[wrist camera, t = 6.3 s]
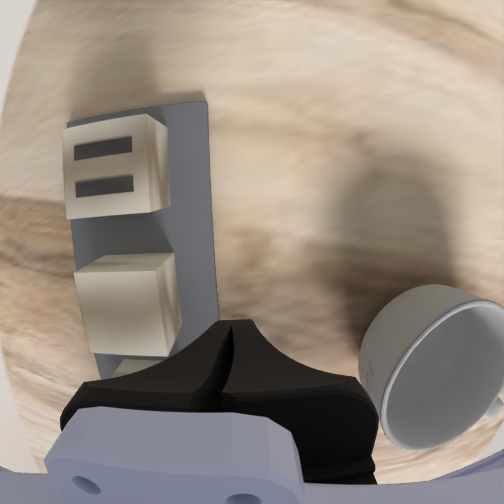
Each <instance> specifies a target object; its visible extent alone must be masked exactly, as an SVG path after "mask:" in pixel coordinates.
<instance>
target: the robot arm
mask: <svg viewBox="0 0 504 504" xmlns="http://www.w3.org/2000/svg"><path fill="white" fill-rule="evenodd" d="M378 424H379V416H378V413H377V410H376V408H375V406H374V404H373V402H372V400H371V398H370V396H369V395H368V393H367V392H366V391H365V389H364V388H363V387H362V385H361V384H360V383H359V382H358V380H357V379H356V377H352V376H345V375H338V374H332V373H327V372H324V371H320V370H317V369H314V368H311V367H308V366H306V365H303V364H301V363H299V362H297V361H295V360H293V359H291V358H289V357H288V356H286V355H284V354H283V353H281V352H280V351H278V350H277V349H276V348H275V347H274V346H273V345H272V344H271V343H270V342H268V340H267V339H266V338H265V337H264V336H263V335H262V334H261V333H260V331H259V330H258V329H257V327H256V325H255V324H254V322H253V321H252V320H251V319H245V320H222V321H216V322H215V323H214V324H212V325H211V326H210V327H209V328H208V329H207V330H206V331H205V332H204V333H203V334H202V335H200V336H199V337H198V338H197V339H196V340H194V341H193V342H192V343H190V344H189V345H188V346H186V347H185V348H184V349H183V350H181V351H180V352H178V353H176V354H175V355H173V356H171V357H170V358H168V359H166V360H164V361H162V362H160V363H158V364H155V365H153V366H150V367H148V368H146V369H143V370H140V371H137V372H134V373H131V374H127V375H123V376H119V377H115V378H110V379H103V380H96V381H89V382H84V383H83V384H82V385H81V387H80V388H79V389H78V391H77V392H76V393H75V395H74V396H73V397H72V399H71V400H70V402H69V403H68V404H67V406H66V407H65V408H64V410H63V412H62V415H61V417H60V428H61V431H62V432H61V434H60V435H59V437H58V438H57V440H56V441H55V443H54V445H53V446H52V448H51V449H50V451H49V452H48V454H47V455H46V457H45V459H44V462H45V465H46V468H47V471H48V474H42V473H18V472H13V471H10V470H8V469H6V468H3V467H1V466H0V504H504V449H503V450H501V451H499V452H497V453H495V454H493V455H491V456H489V457H486V458H485V459H482V460H480V461H478V462H475V463H473V464H471V465H469V466H466V467H464V468H461V469H459V470H456V471H454V472H451V473H449V474H446V475H444V476H441V477H438V478H435V479H433V480H430V481H423V482H412V483H399V484H377V482H376V479H375V477H374V474H373V472H375V464H374V461H373V459H372V457H371V455H372V451H373V447H374V443H375V439H376V435H377V431H378Z"/></svg>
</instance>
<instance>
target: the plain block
mask: <svg viewBox="0 0 504 504" xmlns="http://www.w3.org/2000/svg"><path fill="white" fill-rule="evenodd" d="M74 277H75V283H76V289H77V294H78V300H79V305H80V310H81V314H82V319H83V324H84V328H85V332H86V336H87V340H88V345H89V348H90V352H91V353H102V354H117V355H137V356H167V357H168V355H169V353H170V351H171V348H172V346H173V344H174V341H175V339H176V337H177V335H178V332H179V330H180V328H181V326H182V319H181V310H180V302H179V293H178V284H177V274H176V264H175V252H169V253H146V254H123V255H105V256H103V257H101V258H99V259H97V260H96V261H94V262H92V263H90V264H88V265H87V266H85V267H83V268H81V269H80V270H78V271H76V272H74Z"/></svg>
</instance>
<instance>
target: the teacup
mask: <svg viewBox="0 0 504 504" xmlns="http://www.w3.org/2000/svg"><path fill="white" fill-rule="evenodd" d="M358 368H359V377H360V381H361V385H362V387H363V388H364V389H365V391H366V392H367V393H368V395H369V396H370V398H371V400H372V402H373V404H374V406H375V408H376V410H377V413H378V416H379V421H380V423H381V427H382V429H383V432H384V434H385V435H386V437H387V438H388V439H389V440H390V442H391V443H392V444H395V445H396V446H397V447H399V448H401V449H405V450H412V451H422V450H429V449H433V448H436V447H439V446H442V445H444V444H447V443H449V442H450V441H452V440H454V439H456V438H457V437H459V436H461V435H462V434H463V433H465V432H466V431H467V430H469V429H470V428H471V427H472V426H473V425H474V424H475V423H476V422H477V421H478V420H479V419H480V418H481V417H483V416H484V414H485V415H487V416H488V417H490V418H494V417H496V416H497V415H498V414H499V412H500V411H501V410H502V408H503V405H504V404H503V402H502V400H501V399H500V398H499V397H498V396H499V394H500V393H501V391H502V389H503V387H504V307H502V306H501V305H500V304H498V303H496V302H494V301H490V300H485V299H482V298H480V297H477V296H475V295H473V294H470V293H468V292H465V291H463V290H460V289H457V288H454V287H451V286H446V285H438V284H429V285H422V286H419V287H415V288H412V289H410V290H408V291H405V292H404V293H402V294H400V295H399V296H397V297H396V298H394V299H393V300H392V301H390V302H389V303H388V304H387V305H386V306H385V307H384V308H383V309H382V310H381V311H380V312H379V313H378V315H377V316H376V317H375V319H374V320H373V321H372V323H371V325H370V326H369V328H368V330H367V332H366V334H365V336H364V339H363V342H362V345H361V349H360V354H359V364H358Z"/></svg>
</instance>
